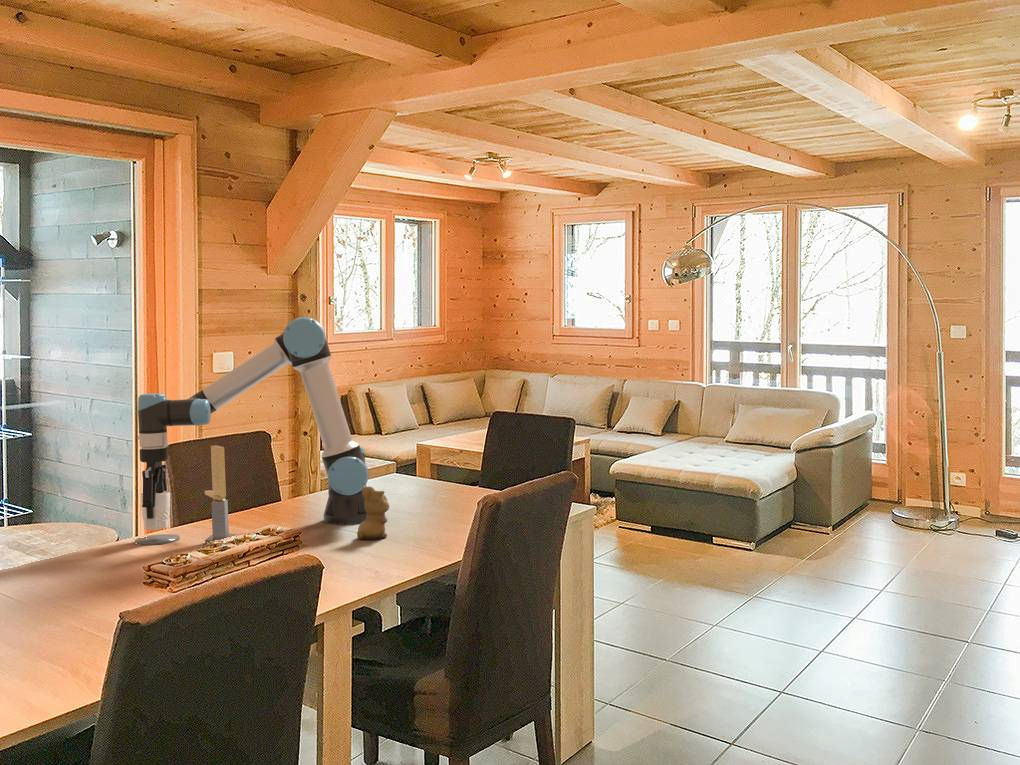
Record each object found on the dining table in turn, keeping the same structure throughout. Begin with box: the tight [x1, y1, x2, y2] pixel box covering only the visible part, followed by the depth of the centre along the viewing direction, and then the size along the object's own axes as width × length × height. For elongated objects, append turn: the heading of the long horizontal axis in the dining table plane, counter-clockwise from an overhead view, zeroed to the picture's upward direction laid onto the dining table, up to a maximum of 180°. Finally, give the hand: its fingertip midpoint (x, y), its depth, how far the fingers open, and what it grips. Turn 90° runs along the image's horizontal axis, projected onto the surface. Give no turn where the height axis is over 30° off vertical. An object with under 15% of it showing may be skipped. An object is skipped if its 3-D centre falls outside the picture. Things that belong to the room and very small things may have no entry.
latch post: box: [204, 499, 237, 544], centre depth 260 cm, size 7×7×12 cm
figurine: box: [356, 484, 390, 541], centre depth 259 cm, size 10×8×15 cm
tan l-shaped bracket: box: [204, 444, 227, 501], centre depth 263 cm, size 16×3×15 cm, turn 33°
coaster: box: [134, 533, 181, 546], centre depth 263 cm, size 12×12×1 cm
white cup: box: [139, 490, 171, 530], centre depth 263 cm, size 8×8×10 cm
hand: (156, 526), depth 263 cm, fingers closed on white cup, 7 cm apart
